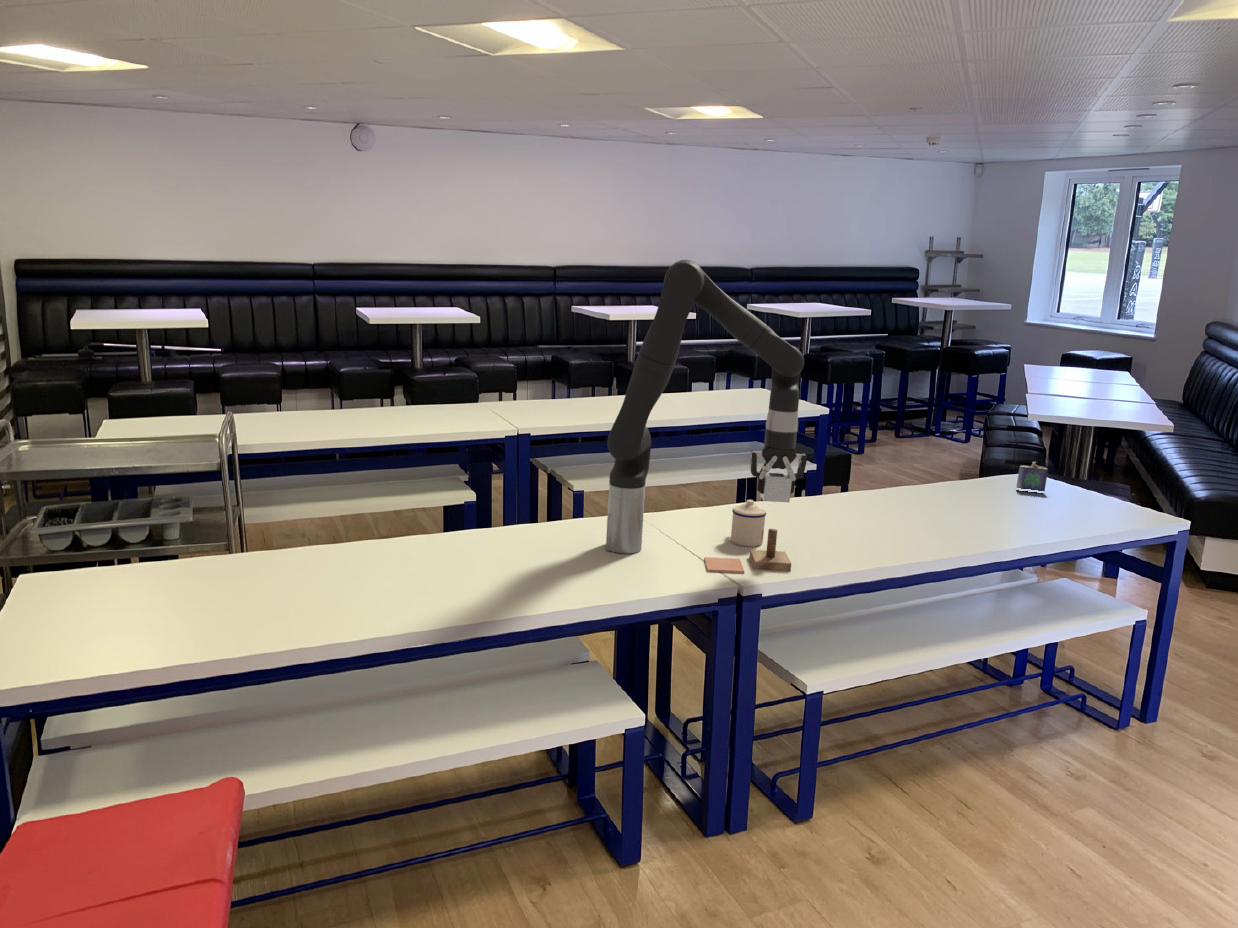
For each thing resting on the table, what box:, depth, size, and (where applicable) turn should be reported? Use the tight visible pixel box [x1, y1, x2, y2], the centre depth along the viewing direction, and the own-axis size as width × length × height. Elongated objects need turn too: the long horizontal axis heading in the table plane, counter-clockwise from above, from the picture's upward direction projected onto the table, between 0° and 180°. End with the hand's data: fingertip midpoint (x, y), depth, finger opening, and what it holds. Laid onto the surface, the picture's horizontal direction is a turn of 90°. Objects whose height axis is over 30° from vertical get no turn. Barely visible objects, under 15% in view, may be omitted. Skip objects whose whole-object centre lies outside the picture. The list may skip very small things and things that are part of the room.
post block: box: [749, 528, 792, 572], centre depth 233 cm, size 9×9×9 cm
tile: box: [703, 556, 745, 574], centre depth 231 cm, size 9×9×1 cm
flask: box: [1016, 461, 1049, 492], centre depth 321 cm, size 9×3×11 cm, turn 75°
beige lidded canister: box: [730, 499, 767, 548], centre depth 251 cm, size 12×9×12 cm
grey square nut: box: [759, 471, 792, 503], centre depth 230 cm, size 6×6×6 cm
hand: (774, 493), depth 230 cm, fingers closed on grey square nut, 6 cm apart
